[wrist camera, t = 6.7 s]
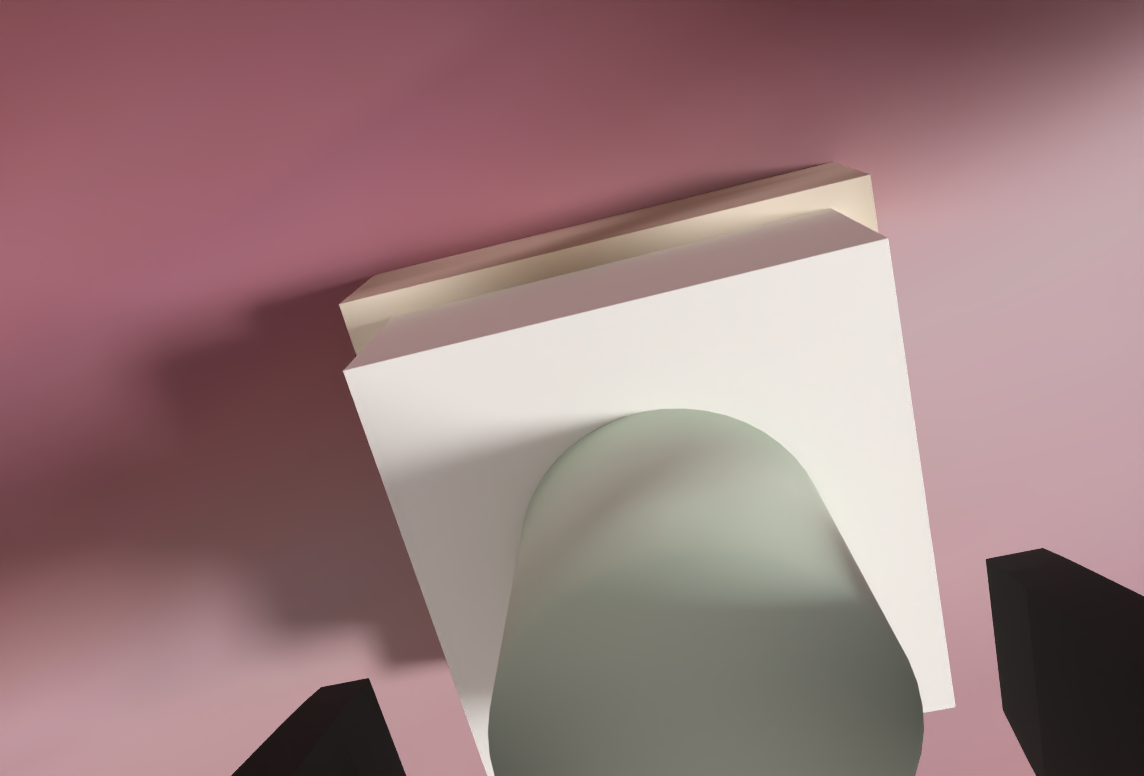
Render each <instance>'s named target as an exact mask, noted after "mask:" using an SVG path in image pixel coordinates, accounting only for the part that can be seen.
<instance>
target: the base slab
mask: <svg viewBox="0 0 1144 776" xmlns="http://www.w3.org/2000/svg"><path fill="white" fill-rule="evenodd" d="M829 208H832V209H834V210H836V211H837V212H839V213H841V214H843V215H845V216H847V217H849V218H851V219H853V220H855V221H856V222H858V223H860V224H862V225H864V226H866V227H868V228H870V229H872V230H873V231H875V232H877V233H878V226H877V219H876V212H875V205H874V197H873V190H872V183H871V176H870V174H867V173H864V172H861V171H858V170H855V169H852V168H849V167H846V166H843V165H840V164H837V163H833V162H831V163H827V164H823V165H819V166H814V167H810V168H806V169H802V170H798V171H794V172H790V173H786V174H782V175H778V176H774V177H770V178H766V179H762V180H758V181H754V182H750V183H746V184H741V185H737V186H733V187H729V188H725V189H721V190H717V191H713V192H709V193H705V194H701V195H697V196H693V197H689V198H685V199H681V200H677V201H673V202H668V203H664V204H660V205H656V206H652V207H648V208H644V209H640V210H636V211H632V212H628V213H624V214H620V215H616V216H612V217H608V218H604V219H600V220H595V221H591V222H587V223H583V224H579V225H575V226H571V227H567V228H563V229H559V230H555V231H551V232H547V233H543V234H539V235H535V236H531V237H526V238H522V239H518V240H514V241H510V242H506V243H502V244H498V245H494V246H490V247H486V248H482V249H478V250H474V251H470V252H466V253H462V254H458V255H453V256H449V257H445V258H441V259H437V260H433V261H429V262H425V263H421V264H417V265H413V266H409V267H405V268H401V269H397V270H393V271H389V272H385V273H380V274H376V275H374V276H372V277H371V278H370V279H369V280H368V281H366V282H365V283H364V284H363V285H362V286H360V287H359V288H358V289H357V290H356V291H354V292H353V293H352V294H351V295H349V296H348V297H347V298H346V299H345V300H343V301H342V302H341V303H340V304H339V306H340V309H341V312H342V315H343V318H344V321H345V324H346V327H347V330H348V333H349V335H350V338H351V341H352V344H353V347H354V350H355V353H356V356H357V355H358V354H359V353H360V352H361V351H362V350H363V348H364V347H365V346H366V345H367V344H368V343H369V342H370V341H371V340H372V339H373V338H374V336H375V335H376V334H377V333H378V332H379V331H380V330H381V329H382V328H383V327H384V325H385V324H386V323H387V322H388V321H389V320H390V319H391V318H392V317H395V316H399V315H403V314H407V313H411V312H415V311H419V310H423V309H427V308H431V307H435V306H439V305H443V304H447V303H452V302H456V301H460V300H464V299H468V298H472V297H476V296H480V295H484V294H488V293H492V292H496V291H500V290H504V289H508V288H512V287H516V286H520V285H524V284H528V283H532V282H536V281H540V280H544V279H548V278H552V277H556V276H560V275H564V274H568V273H572V272H576V271H580V270H584V269H588V268H592V267H596V266H600V265H604V264H608V263H612V262H616V261H620V260H624V259H628V258H632V257H636V256H640V255H644V254H648V253H652V252H656V251H660V250H664V249H668V248H672V247H676V246H680V245H684V244H688V243H692V242H696V241H701V240H705V239H709V238H713V237H717V236H721V235H725V234H729V233H733V232H737V231H741V230H745V229H749V228H753V227H757V226H761V225H765V224H769V223H773V222H777V221H781V220H785V219H789V218H793V217H797V216H801V215H805V214H809V213H813V212H817V211H821V210H825V209H829Z"/></svg>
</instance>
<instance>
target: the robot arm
mask: <svg viewBox="0 0 1144 776" xmlns="http://www.w3.org/2000/svg"><path fill="white" fill-rule="evenodd" d="M986 565H987V574H988V583H989V592H990V600H991V609H992V618H993V627H994V636H995V644H996V653H997V662H998V671H999V680H1000V688H1001V697H1002V706H1003V711H1004V713H1005V715H1006V717H1007V719H1008V721H1009V723H1010V725H1011V727H1012V729H1013V731H1014V733H1015V735H1016V737H1017V739H1018V741H1019V743H1020V745H1021V747H1022V749H1023V751H1024V753H1025V755H1026V757H1027V759H1028V761H1029V763H1030V765H1031V767H1032V769H1033V771H1034V772H1035V774H1036V776H1144V596H1142V595H1140V594H1138V593H1136V592H1134V591H1132V590H1130V589H1128V588H1126V587H1124V586H1122V585H1120V584H1118V583H1116V582H1114V581H1112V580H1109V579H1107V578H1105V577H1103V576H1101V575H1099V574H1097V573H1095V572H1093V571H1091V570H1089V569H1087V568H1085V567H1083V566H1081V565H1079V564H1077V563H1075V562H1073V561H1071V560H1068V559H1066V558H1064V557H1062V556H1060V555H1058V554H1055V553H1053V552H1051V551H1049V550H1046V549H1044V548H1041V549H1036V550H1031V551H1025V552H1020V553H1015V554H1010V555H1005V556H999V557H994V558H989V559H986ZM231 776H406V774H405V772H404V769H403V766H402V764H401V761H400V758H399V756H398V753H397V751H396V748H395V745H394V743H393V740H392V738H391V735H390V732H389V730H388V727H387V724H386V722H385V719H384V717H383V714H382V711H381V709H380V706H379V704H378V701H377V698H376V696H375V693H374V690H373V688H372V685H371V683H370V680H369V678H367V679H362V680H356V681H351V682H346V683H341V684H336V685H330V686H325V687H321V688H320V689H319V690H317V691H316V692H315V693H314V694H313V695H312V696H311V697H309V698H308V699H307V700H306V701H305V702H304V703H303V704H302V705H301V706H300V707H299V708H298V709H297V710H296V711H295V712H294V713H293V714H292V715H290V716H289V717H288V718H287V719H286V720H285V721H284V722H283V723H282V724H281V725H280V726H279V727H278V728H277V729H276V730H275V732H274V733H273V734H272V735H271V736H270V737H269V738H268V739H267V740H266V741H265V742H264V743H263V744H262V745H261V746H260V747H259V748H258V749H257V750H256V751H255V752H254V753H253V754H252V755H251V756H250V757H249V758H248V759H247V760H246V761H245V762H244V763H243V764H242V765H241V766H240V767H239V768H238V769H237V770H236V771H235V772H234V773H233V774H232V775H231Z"/></svg>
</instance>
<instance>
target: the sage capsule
mask: <svg viewBox="0 0 1144 776" xmlns="http://www.w3.org/2000/svg"><path fill="white" fill-rule="evenodd" d="M923 733H924V723H923V705H922V701H921V696H920V692H919V687H918V683H917V680H916V677H915V675H914V672H913V670H912V667H911V665H910V662H909V660H908V658H907V656H906V654H905V652H904V650H903V649H902V647H901V645H900V643H899V641H898V639H897V638H896V636H895V634H894V632H893V630H892V628H891V626H890V625H889V623H888V621H887V619H886V617H885V615H884V613H883V612H882V610H881V608H880V606H879V604H878V602H877V600H876V599H875V597H874V595H873V593H872V591H871V589H870V587H869V586H868V584H867V582H866V580H865V578H864V576H863V574H862V573H861V571H860V569H859V567H858V565H857V563H856V561H855V560H854V558H853V556H852V554H851V552H850V550H849V548H848V547H847V545H846V543H845V541H844V539H843V537H842V535H841V534H840V532H839V530H838V528H837V526H836V524H835V522H834V521H833V519H832V517H831V515H830V513H829V511H828V509H827V508H826V506H825V504H824V502H823V500H822V498H821V496H820V495H819V493H818V491H817V489H816V487H815V485H814V484H813V482H812V480H811V479H810V477H809V475H808V474H807V472H806V471H805V469H804V468H803V467H802V466H801V464H800V463H799V462H798V461H797V459H796V458H795V457H794V456H793V455H792V454H791V453H790V452H789V451H788V450H787V449H786V448H784V447H783V446H782V445H781V444H780V443H779V442H777V441H776V440H775V439H773V438H772V437H770V436H769V435H767V434H766V433H765V432H763V431H761V430H759V429H757V428H755V427H753V426H752V425H750V424H748V423H746V422H743V421H740V420H738V419H735V418H732V417H730V416H727V415H723V414H718V413H714V412H710V411H705V410H695V409H685V408H682V409H659V410H652V411H646V412H640V413H637V414H633V415H629V416H626V417H622V418H620V419H617V420H615V421H612V422H610V423H607V424H605V425H603V426H601V427H599V428H597V429H596V430H594V431H592V432H590V433H588V434H587V435H585V436H584V437H582V438H581V439H580V440H578V441H577V442H576V443H574V444H573V445H572V446H570V447H569V448H568V449H567V450H566V451H565V452H564V453H563V454H562V455H561V456H560V457H559V458H558V459H557V460H556V461H555V462H554V463H553V464H552V466H551V467H550V468H549V469H548V471H547V472H546V473H545V475H544V476H543V477H542V479H541V481H540V483H539V484H538V486H537V488H536V490H535V491H534V493H533V496H532V498H531V501H530V503H529V506H528V508H527V511H526V515H525V520H524V524H523V528H522V534H521V539H520V545H519V550H518V556H517V561H516V567H515V572H514V578H513V583H512V589H511V594H510V600H509V605H508V611H507V616H506V622H505V627H504V633H503V638H502V644H501V649H500V655H499V660H498V666H497V672H496V677H495V683H494V688H493V694H492V699H491V705H490V711H489V723H488V742H489V754H490V759H491V763H492V768H493V772H494V776H915V774H916V770H917V766H918V763H919V759H920V756H921V750H922V742H923Z"/></svg>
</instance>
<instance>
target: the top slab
mask: <svg viewBox="0 0 1144 776" xmlns="http://www.w3.org/2000/svg"><path fill="white" fill-rule="evenodd" d="M343 372H344V375H345V378H346V381H347V384H348V386H349V389H350V392H351V395H352V398H353V400H354V403H355V406H356V409H357V412H358V414H359V417H360V420H361V423H362V426H363V428H364V431H365V434H366V437H367V440H368V442H369V445H370V448H371V451H372V454H373V456H374V459H375V462H376V465H377V468H378V470H379V473H380V476H381V479H382V482H383V484H384V487H385V490H386V493H387V496H388V498H389V501H390V504H391V507H392V510H393V512H394V515H395V518H396V521H397V524H398V527H399V529H400V532H401V535H402V538H403V541H404V543H405V546H406V549H407V552H408V555H409V557H410V560H411V563H412V566H413V569H414V571H415V574H416V577H417V580H418V583H419V585H420V588H421V591H422V594H423V597H424V599H425V602H426V605H427V608H428V611H429V613H430V616H431V619H432V622H433V625H434V627H435V630H436V633H437V636H438V639H439V641H440V644H441V647H442V650H443V653H444V655H445V658H446V661H447V664H448V667H449V669H450V672H451V675H452V678H453V681H454V683H455V686H456V689H457V692H458V695H459V697H460V700H461V703H462V706H463V709H464V712H465V714H466V717H467V720H468V723H469V726H470V728H471V731H472V734H473V737H474V740H475V742H476V745H477V748H478V751H479V754H480V756H481V759H482V762H483V765H484V768H485V770H486V773H487V776H494V772H493V768H492V763H491V759H490V754H489V742H488V723H489V711H490V705H491V699H492V694H493V688H494V683H495V677H496V672H497V666H498V660H499V655H500V649H501V644H502V638H503V633H504V627H505V622H506V616H507V611H508V605H509V600H510V594H511V589H512V583H513V578H514V572H515V567H516V561H517V556H518V550H519V545H520V539H521V534H522V528H523V524H524V520H525V515H526V511H527V508H528V506H529V503H530V501H531V498H532V496H533V493H534V491H535V490H536V488H537V486H538V484H539V483H540V481H541V479H542V477H543V476H544V475H545V473H546V472H547V471H548V469H549V468H550V467H551V466H552V464H553V463H554V462H555V461H556V460H557V459H558V458H559V457H560V456H561V455H562V454H563V453H564V452H565V451H566V450H567V449H568V448H569V447H570V446H572V445H573V444H574V443H576V442H577V441H578V440H580V439H581V438H582V437H584V436H585V435H587V434H588V433H590V432H592V431H594V430H596V429H597V428H599V427H601V426H603V425H605V424H607V423H610V422H612V421H615V420H617V419H620V418H622V417H626V416H629V415H633V414H637V413H640V412H646V411H652V410H659V409H682V408H685V409H695V410H705V411H710V412H714V413H718V414H723V415H727V416H730V417H732V418H735V419H738V420H740V421H743V422H746V423H748V424H750V425H752V426H753V427H755V428H757V429H759V430H761V431H763V432H765V433H766V434H767V435H769V436H770V437H772V438H773V439H775V440H776V441H777V442H779V443H780V444H781V445H782V446H783V447H784V448H786V449H787V450H788V451H789V452H790V453H791V454H792V455H793V456H794V457H795V458H796V459H797V461H798V462H799V463H800V464H801V466H802V467H803V468H804V469H805V471H806V472H807V474H808V475H809V477H810V479H811V480H812V482H813V484H814V485H815V487H816V489H817V491H818V493H819V495H820V496H821V498H822V500H823V502H824V504H825V506H826V508H827V509H828V511H829V513H830V515H831V517H832V519H833V521H834V522H835V524H836V526H837V528H838V530H839V532H840V534H841V535H842V537H843V539H844V541H845V543H846V545H847V547H848V548H849V550H850V552H851V554H852V556H853V558H854V560H855V561H856V563H857V565H858V567H859V569H860V571H861V573H862V574H863V576H864V578H865V580H866V582H867V584H868V586H869V587H870V589H871V591H872V593H873V595H874V597H875V599H876V600H877V602H878V604H879V606H880V608H881V610H882V612H883V613H884V615H885V617H886V619H887V621H888V623H889V625H890V626H891V628H892V630H893V632H894V634H895V636H896V638H897V639H898V641H899V643H900V645H901V647H902V649H903V650H904V652H905V654H906V656H907V658H908V660H909V662H910V665H911V667H912V670H913V672H914V675H915V677H916V680H917V683H918V687H919V692H920V696H921V701H922V705H923V713H925V712H931V711H936V710H942V709H947V708H953V707H955V700H954V693H953V686H952V679H951V672H950V665H949V658H948V651H947V644H946V637H945V630H944V624H943V617H942V610H941V603H940V596H939V589H938V582H937V575H936V568H935V561H934V554H933V547H932V540H931V533H930V526H929V519H928V512H927V505H926V498H925V491H924V484H923V477H922V470H921V464H920V457H919V450H918V443H917V436H916V429H915V422H914V415H913V408H912V401H911V394H910V387H909V380H908V373H907V366H906V359H905V352H904V345H903V338H902V331H901V324H900V317H899V311H898V304H897V297H896V290H895V283H894V276H893V269H892V262H891V255H890V248H889V241H888V238H887V237H885V236H883V235H881V234H879V233H877V232H875V231H873V230H872V229H870V228H868V227H866V226H864V225H862V224H860V223H858V222H856V221H855V220H853V219H851V218H849V217H847V216H845V215H843V214H841V213H839V212H837V211H836V210H834V209H832V208H829V209H825V210H821V211H817V212H813V213H809V214H805V215H801V216H797V217H793V218H789V219H785V220H781V221H777V222H773V223H769V224H765V225H761V226H757V227H753V228H749V229H745V230H741V231H737V232H733V233H729V234H725V235H721V236H717V237H713V238H709V239H705V240H701V241H696V242H692V243H688V244H684V245H680V246H676V247H672V248H668V249H664V250H660V251H656V252H652V253H648V254H644V255H640V256H636V257H632V258H628V259H624V260H620V261H616V262H612V263H608V264H604V265H600V266H596V267H592V268H588V269H584V270H580V271H576V272H572V273H568V274H564V275H560V276H556V277H552V278H548V279H544V280H540V281H536V282H532V283H528V284H524V285H520V286H516V287H512V288H508V289H504V290H500V291H496V292H492V293H488V294H484V295H480V296H476V297H472V298H468V299H464V300H460V301H456V302H452V303H447V304H443V305H439V306H435V307H431V308H427V309H423V310H419V311H415V312H411V313H407V314H403V315H399V316H395V317H392V318H391V319H390V320H389V321H388V322H387V323H386V324H385V325H384V327H383V328H382V329H381V330H380V331H379V332H378V333H377V334H376V335H375V336H374V338H373V339H372V340H371V341H370V342H369V343H368V344H367V345H366V346H365V347H364V348H363V350H362V351H361V352H360V353H359V354H358V355H357V356H356V357H355V358H354V359H353V360H352V362H351V363H350V364H349V365H348V366H347V367H346V368H345V369H344V370H343Z"/></svg>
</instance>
